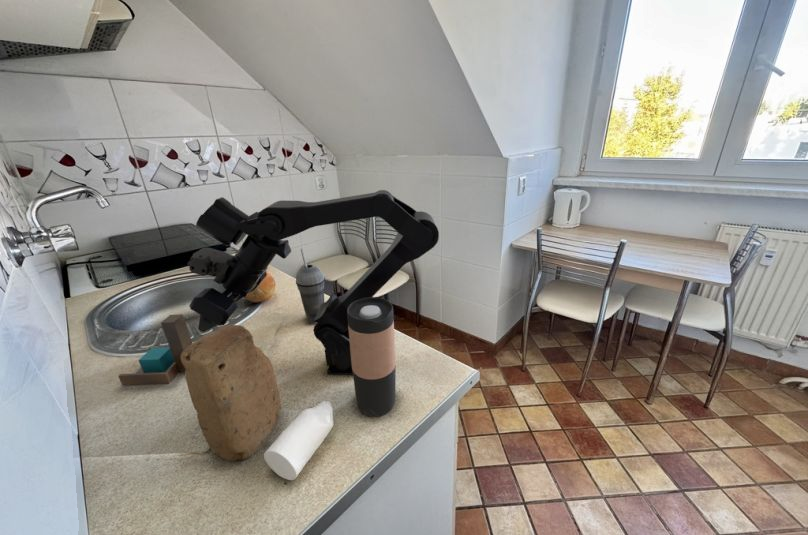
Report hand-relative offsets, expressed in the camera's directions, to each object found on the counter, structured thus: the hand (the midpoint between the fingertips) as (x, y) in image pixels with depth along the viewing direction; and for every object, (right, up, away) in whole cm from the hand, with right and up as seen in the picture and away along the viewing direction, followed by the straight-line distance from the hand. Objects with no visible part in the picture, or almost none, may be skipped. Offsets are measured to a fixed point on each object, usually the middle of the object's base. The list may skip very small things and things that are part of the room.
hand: (213, 317), depth 64 cm
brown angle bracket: (-12, -12, +4) cm, 18 cm away
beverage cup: (+14, -4, +23) cm, 27 cm away
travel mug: (+33, -15, -4) cm, 36 cm away
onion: (-5, 0, +33) cm, 33 cm away
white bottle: (+23, -19, -12) cm, 32 cm away
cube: (-14, -12, +4) cm, 18 cm away
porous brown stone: (+12, -18, -10) cm, 24 cm away
